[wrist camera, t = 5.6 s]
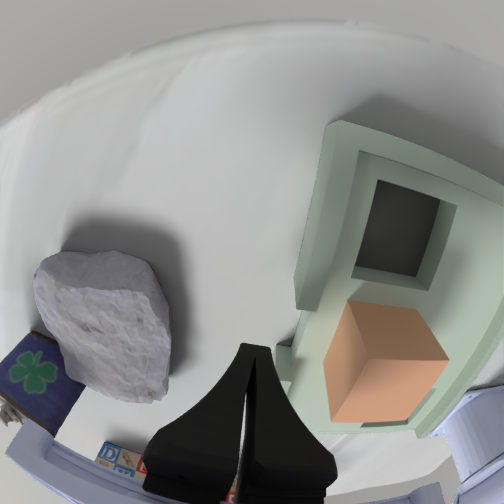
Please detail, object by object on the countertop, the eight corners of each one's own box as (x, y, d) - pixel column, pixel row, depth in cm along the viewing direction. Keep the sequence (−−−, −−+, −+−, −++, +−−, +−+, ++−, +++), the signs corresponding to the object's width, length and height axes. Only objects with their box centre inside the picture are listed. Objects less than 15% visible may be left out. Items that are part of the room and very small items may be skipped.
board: (522, 204, 12) (550, 216, 9) (417, 413, 20) (425, 437, 17) (325, 125, 12) (339, 119, 10) (256, 408, 20) (253, 439, 17)
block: (416, 309, 13) (449, 360, 9) (386, 366, 15) (405, 420, 11) (347, 299, 14) (368, 358, 9) (322, 362, 15) (330, 422, 11)
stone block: (171, 241, 18) (48, 244, 16) (157, 277, 13) (13, 274, 12) (187, 368, 22) (86, 361, 21) (184, 412, 18) (71, 399, 17)
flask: (33, 343, 22) (-21, 404, 12) (26, 323, 20) (-34, 384, 11) (98, 378, 22) (47, 459, 12) (93, 358, 20) (34, 444, 11)
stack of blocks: (117, 457, 30) (92, 514, 19) (104, 439, 28) (74, 502, 17) (251, 488, 29) (243, 556, 17) (254, 475, 27) (244, 554, 15)
